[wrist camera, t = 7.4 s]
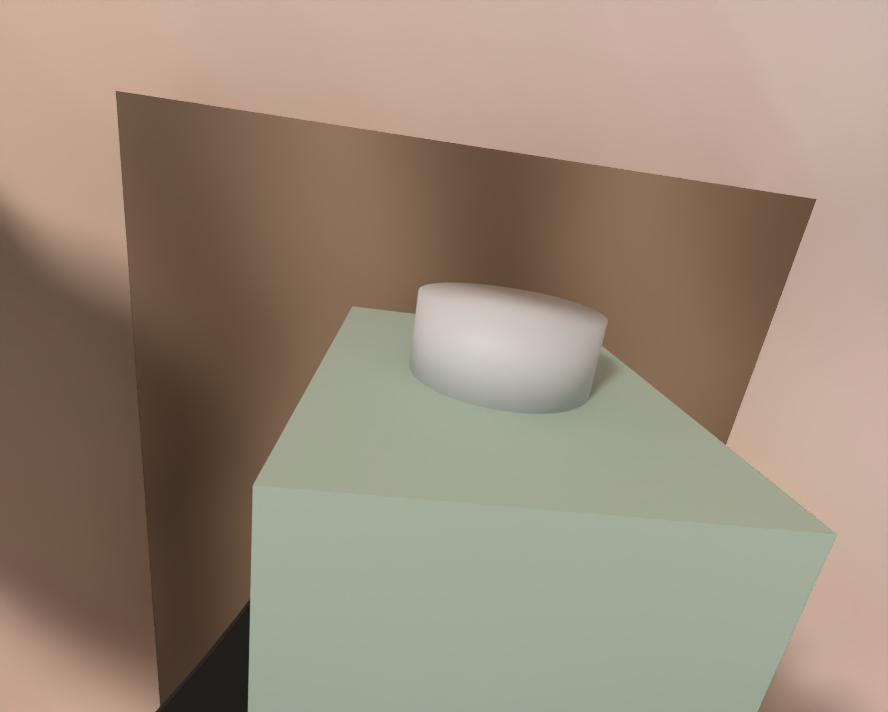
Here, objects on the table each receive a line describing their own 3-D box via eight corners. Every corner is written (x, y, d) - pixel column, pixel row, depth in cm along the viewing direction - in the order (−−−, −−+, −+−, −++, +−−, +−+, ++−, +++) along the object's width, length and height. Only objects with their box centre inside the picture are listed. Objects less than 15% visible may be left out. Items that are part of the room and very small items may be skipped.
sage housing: (322, 668, 12) (239, 1099, 6) (356, 252, 9) (255, 352, 3) (508, 677, 12) (588, 1088, 7) (600, 284, 9) (886, 421, 4)
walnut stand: (190, 644, 16) (160, 705, 14) (167, 106, 11) (115, 91, 9) (600, 666, 17) (622, 724, 16) (754, 196, 12) (816, 199, 10)
